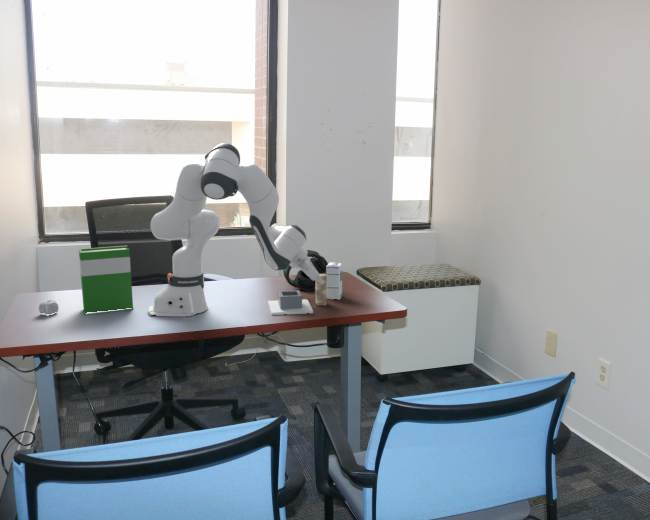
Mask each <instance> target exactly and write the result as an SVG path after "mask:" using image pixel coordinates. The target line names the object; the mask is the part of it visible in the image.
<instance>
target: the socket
mask: <svg viewBox="0 0 650 520" xmlns="http://www.w3.org/2000/svg"><path fill="white" fill-rule="evenodd" d="M277 296H278V297H277V299H278V300H277V299H276V300H267V305H268V307H269V312H270V315H271V316H280V315H281V316H282V315H284V314H287V315H301V314H302V315H303V314H304V315H306V314H307V313H309V314H314V310H313V308H312V306H311V304H310V302H309V299H308V298H306V299H305V298H303V295H302V293H301V290H300V289H297V290H295V289H293V290H278V292H277ZM307 315H308V314H307Z"/></svg>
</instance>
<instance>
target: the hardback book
mask: <svg viewBox="0 0 650 520" xmlns="http://www.w3.org/2000/svg"><path fill="white" fill-rule="evenodd" d="M130 252H131V251H130V248H128V245H115V246H104V247H88V248H78V260H79V268H80V270H79V271H80V282H81V284H80V285H81V293H82V295H81V296H82V307H83V308H84V309H83V308H82V309H83V313H84V312H85V313H87V312H97V311H108V310H117V309H126V308H133V309H134V304H133V299H134V298H133V284H132V273H131V270H132V269H131V255H130ZM85 313H84V314H85Z"/></svg>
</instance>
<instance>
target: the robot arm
mask: <svg viewBox="0 0 650 520" xmlns="http://www.w3.org/2000/svg"><path fill="white" fill-rule="evenodd" d="M240 163H241V154H240V152H239V150H238V148H236V147H235V146H234V145H232V144H231V143H225V142H224V143H219V144H217V145H216V146H214V148H212V149H211V150H210V151H209V152H208V153H207V154H206V155H204V161H203V162H199V161H190V162H187V163H186V164H184V165H183V167H182V169H181V171H180V173H179V176H178V180H177V183H176V189H175V193H174V197H173V200H171V202H170V204H169V205H168V206H167V207H165V208H164V209H163V210H161V211H159V212H157V213H155V214H154V215H153V217H152V218H151V220H150V231H151V232H152V235H153V237H154V238H156V239H158V240H164V241H180V240H186V242H185V244H184V245H183V246H182V247H180V248H179V249H177V250H176V251H175V252H174V253H173V254H172V258H171V259H172V273H171V272H169V273H168V274H167V276H166V277H167V285H165V286H164V287H163V288H161V289H160V291H158V292H157V293H156V295H155V297H154V300H153V304H151V305H150V306H149V307H148V311H147V313H148V312H149V314H151V315H156V316H155V317H187V316H188V317H192V316H194V315H196V314H197V313H198V314H200V313H204V312H206V311H207V310H208V309H209V306H208V304H207V301H206V296H205V291H204V290H205V289H204V288H205V276H204V273H203V255H204V250H205V248H206V246H207V244H208V243H209V241H210V240H211V239H212V237H214V236H215V235H216V234H217V233H218V232H219V229H220V224H221V223H220V218H219V216H218V214H217V212H215V211H214V210H209V209H205V207H206V203H207V198H209V199H212V200H217V201H219V200H224V199H226V198H229V197H234V196H235V195H236V194H237V193H238V192H239V193H240V194H241V195H242V197H243V198H244V200H245V201H246V203H247V205H248V209H249V221H248V222H249V224H250V227H251V229H252V232H253V233H254V234H253V235H254V237H255V238H256V240H257V242H258V245H259V247H260V249H261V251H262V254H263V258H264V262H265V263H266V264H267V265H268V266H269V267H270V268H271V269H272V270H275V271H283V270H284V269H287V267H288V266H289V265H290V266H291V267H292V268H291V269H294V268H297V269H300V270H302V271H303V272H304V273H305V274H306V275H307V276H308V277H309V278H310V279H311V280H313V281H314V280H316V281H318V282H319V283H320V284H321V285H323V284H324V283H325V281H324V280H323V279H322V278H321V277H320V276H319V273H318V271H317V270H316V268H315V267H314V265H313V264H312V262H311V261H310V260H309V259H310V258H309V257H308V256H307V254H308V252H307V251H306V249H305V247H304V246H305V244H306V242H307V235H306V232H305V231H304V230H303V229H302V228H301V227H300V226H298V225H296V224H290V225H289V224H288V225H287V226H281V225H279V224H278V223H277V222H276V223H273V224H271V223H272V219H273V217H274V215H275V212H276V210H277V208H278V206H279V201H280V198H279V197H280V196H279V193H278V190H277V188H276V186H275V185H274V184H273V182H272V181H271V179H270V178H269V176H268V175H267V174H266V173H265V172H264V170H263V169H262V168H260V166H258V165H257V164H255V163H246V164H244V165H240ZM149 314H148V315H149ZM151 315H150V316H151Z"/></svg>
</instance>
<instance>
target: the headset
mask: <svg viewBox="0 0 650 520" xmlns="http://www.w3.org/2000/svg"><path fill="white" fill-rule="evenodd" d="M305 250H306V249H305ZM306 251H307V252H308V254H307V256H308V259H309V260H310V261H311V262H312V264H313V265H314V267H315V268H316V270H317V271H318V273H319V274H326V266H327V265H328V264H329V263H328V261H327V259H326V258H325V257H324V256H322V255H321V254H320V253H319V252H317V251H315V250H310V249H307V250H306ZM292 269H293V268H292V267H291V266H290V265H289V266H288V267H287V269H284V270H282V273H283V277H284V278H285V280H286V282H287V283H288V285H290V286H292V287H294V288H297V289H298V290H300V291H305V290H309V291H312V290H314V289H315V280H314V281H313V280H311V279H310V278H309V277H308V276H307V275H306V274H305V273H304V272H303V271H302V270H301V269H300V270H298V271H297V272H296V273H297V274H296V276H295V278H294V279H291V277H290V274H291V273H290V272H291V270H292Z"/></svg>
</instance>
